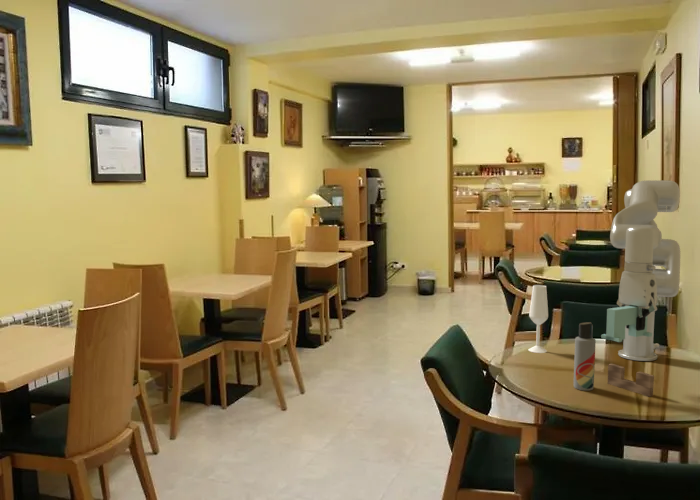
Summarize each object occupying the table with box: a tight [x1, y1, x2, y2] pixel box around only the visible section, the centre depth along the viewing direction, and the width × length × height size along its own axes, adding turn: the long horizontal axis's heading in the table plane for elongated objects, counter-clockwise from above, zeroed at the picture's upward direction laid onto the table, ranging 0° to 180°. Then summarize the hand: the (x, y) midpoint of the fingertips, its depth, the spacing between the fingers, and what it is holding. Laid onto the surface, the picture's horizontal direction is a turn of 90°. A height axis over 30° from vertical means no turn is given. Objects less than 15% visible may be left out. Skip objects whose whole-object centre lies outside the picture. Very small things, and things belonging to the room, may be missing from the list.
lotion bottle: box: [573, 321, 597, 392], centre depth 185 cm, size 6×6×20 cm
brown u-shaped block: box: [607, 363, 655, 397], centre depth 184 cm, size 14×2×6 cm, turn 30°
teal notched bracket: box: [600, 306, 652, 343], centre depth 184 cm, size 15×6×9 cm, turn 119°
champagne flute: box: [527, 284, 549, 354], centre depth 227 cm, size 7×7×24 cm
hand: (635, 328), depth 186 cm, fingers closed on teal notched bracket, 2 cm apart
